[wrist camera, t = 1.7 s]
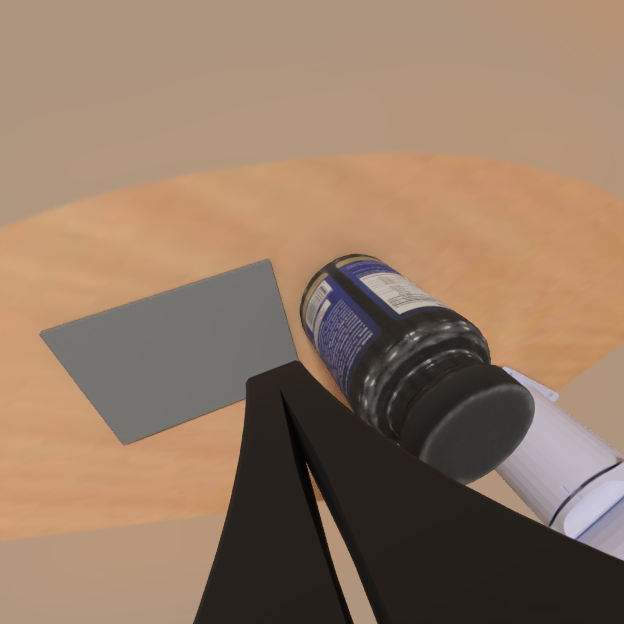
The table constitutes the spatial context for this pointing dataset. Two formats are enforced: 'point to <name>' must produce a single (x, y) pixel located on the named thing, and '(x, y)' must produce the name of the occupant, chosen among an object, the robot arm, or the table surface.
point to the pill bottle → (414, 368)
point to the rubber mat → (176, 350)
